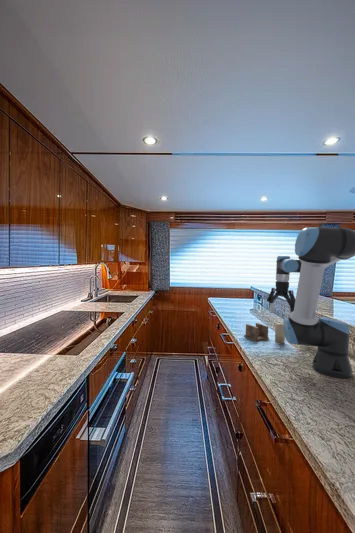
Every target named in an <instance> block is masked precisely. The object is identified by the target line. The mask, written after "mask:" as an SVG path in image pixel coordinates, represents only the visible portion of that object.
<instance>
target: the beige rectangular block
mask: <svg viewBox="0 0 355 533" xmlns="http://www.w3.org/2000/svg"><path fill="white" fill-rule="evenodd" d="M274 333H275V334H274V342H275V343H276V344H281V345H283V344H285V340H286V337H285V334H284V328H283V322H282V323H280V322H278V323H275V331H274Z"/></svg>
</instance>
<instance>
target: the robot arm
mask: <svg viewBox="0 0 355 533" xmlns="http://www.w3.org/2000/svg"><path fill="white" fill-rule="evenodd" d="M294 254H295V255H296V256H298V258H291V256H289V255H277V257H276V261H275V262H276V269H275V271H276V273H275V287H271V290H270V293H269V295H268V297H267V299H266V302H267V303H269V306H268V308H269V314H274V313H275V312H274V310H275V301H276V299H277V298H278V297H283V298H284V299H285V300H286V302H287V303H288V305H289V307H288V317H284V319H283V322H282V324H283V328H284V334H285V340H286V342H288V343H289V344H291V345H296V346H308V347H317V350H316V352H315V355H314V356H313V359H312V363H311V364H312V368H313V369H314V370H315V371H317V372H318V373H321V374H323V375H326V376H329V377H333V378H338V379H339V378H340V379H350V378H352V377H353V368H352V365H351V362H350V358H349V349H350V348H349V347H350V335H351V333H350V326H349V324H348V323H347V322H345V321H342V320H339V319H334V318H331V317H328V316H327V317H325V316H319V317H318V318H317V316H316V312H317V308H318V303H319V300H320V299H319V298H320V293H321V287H322V283H323V277H324V273H325V272H326V268H328V267H330V266H332V265H334V264H336V263H337V262H340V261H343V260H345V261H346V260H349V259H351V258H353V257H355V230H354V229H351V228H347V227H326V226H325V227H322V226H320V227H319V226H314V227H305V228H303V229H301V230H300V231H299V233H298V235H297V237H296V239H295V244H294ZM291 273H295V274H296V273H297V274H298V273H299V277H298V283H297V287H296V288H297V289H296V295H295V294H294V290H292V289H291V290H289V287H290V274H291Z"/></svg>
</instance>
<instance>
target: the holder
mask: <svg viewBox="0 0 355 533" xmlns="http://www.w3.org/2000/svg"><path fill="white" fill-rule="evenodd" d="M244 338H246V339H249V340H252V341H254V342H256V343H257V342H262V341H268V340H269V339H270V337H269V326H268V325H265V324H262V323H259V322H255V325H252V324H249V323H246V324H245V334H244Z"/></svg>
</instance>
